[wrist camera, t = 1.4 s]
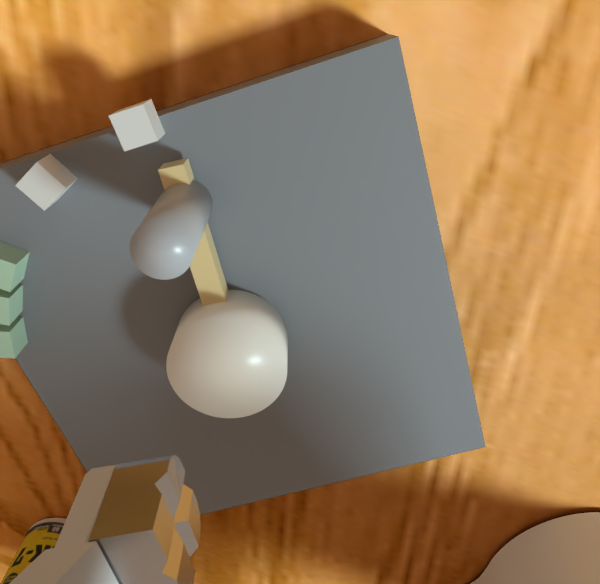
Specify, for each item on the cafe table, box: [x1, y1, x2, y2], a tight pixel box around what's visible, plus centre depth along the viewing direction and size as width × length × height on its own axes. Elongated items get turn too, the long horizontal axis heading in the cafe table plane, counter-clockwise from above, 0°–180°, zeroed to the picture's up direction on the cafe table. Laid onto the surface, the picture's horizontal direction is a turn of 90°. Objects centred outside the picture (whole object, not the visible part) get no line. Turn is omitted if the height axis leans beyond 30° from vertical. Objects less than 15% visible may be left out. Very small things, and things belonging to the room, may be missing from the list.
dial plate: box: [0, 34, 485, 515], centre depth 32 cm, size 25×24×5 cm
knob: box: [129, 158, 288, 418], centre depth 27 cm, size 13×6×6 cm, turn 12°
